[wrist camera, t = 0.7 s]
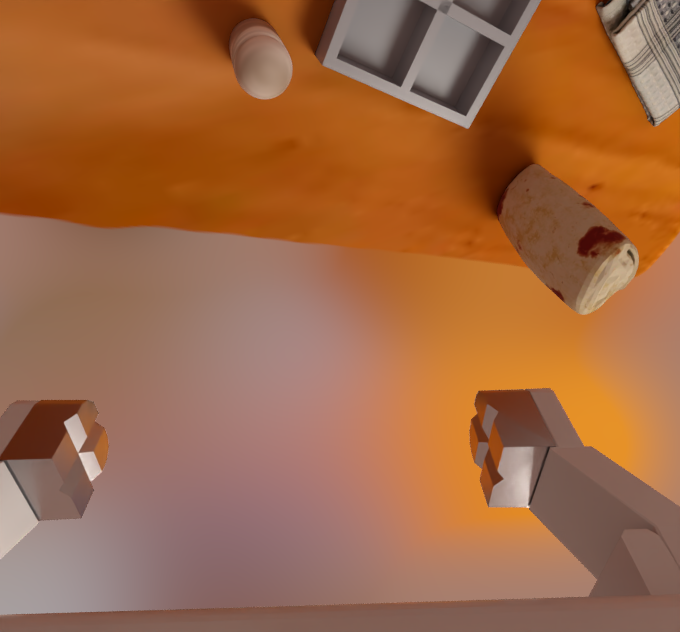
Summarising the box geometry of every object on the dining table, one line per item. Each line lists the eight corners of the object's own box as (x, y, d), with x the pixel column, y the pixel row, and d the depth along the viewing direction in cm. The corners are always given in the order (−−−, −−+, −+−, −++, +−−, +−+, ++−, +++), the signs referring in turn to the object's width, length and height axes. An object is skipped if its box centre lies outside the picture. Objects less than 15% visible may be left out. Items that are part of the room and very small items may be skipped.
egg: (237, 8, 45) (246, 31, 38) (288, 31, 47) (305, 57, 40) (222, 63, 47) (228, 94, 40) (270, 82, 50) (284, 115, 42)
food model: (511, 153, 60) (616, 240, 46) (556, 163, 63) (669, 248, 48) (477, 225, 66) (560, 323, 51) (519, 231, 68) (610, 327, 53)
